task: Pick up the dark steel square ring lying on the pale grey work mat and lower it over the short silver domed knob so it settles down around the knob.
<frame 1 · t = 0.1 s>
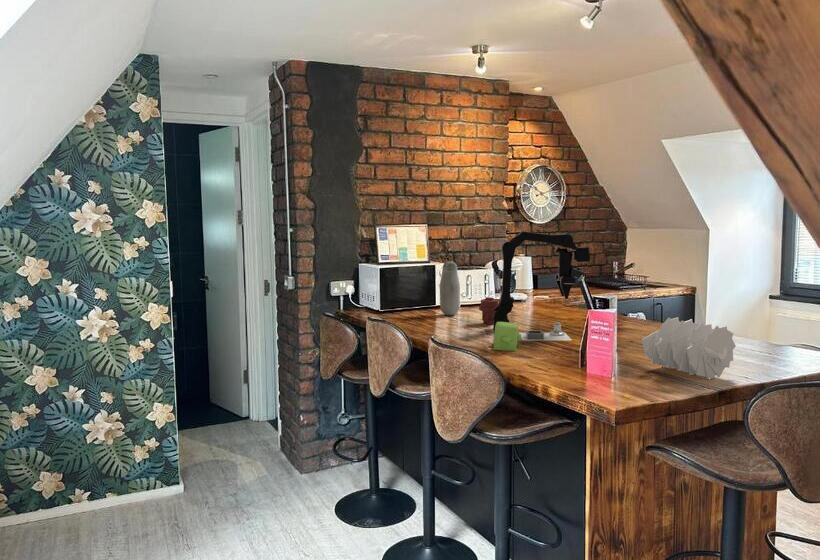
hand: (564, 297, 289), 15 cm above the table, tool pointing down, fingers open, 9 cm apart
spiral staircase: (688, 373, 211), on the table
ring: (534, 338, 270), point 1 cm above the table, touching work mat
silver domed knob: (557, 334, 277), resting on work mat
green pegged block: (507, 349, 253), on the table
grey bottle: (449, 315, 336), on the table
mechanical component: (489, 323, 309), on the table
work mat: (544, 337, 273), on the table
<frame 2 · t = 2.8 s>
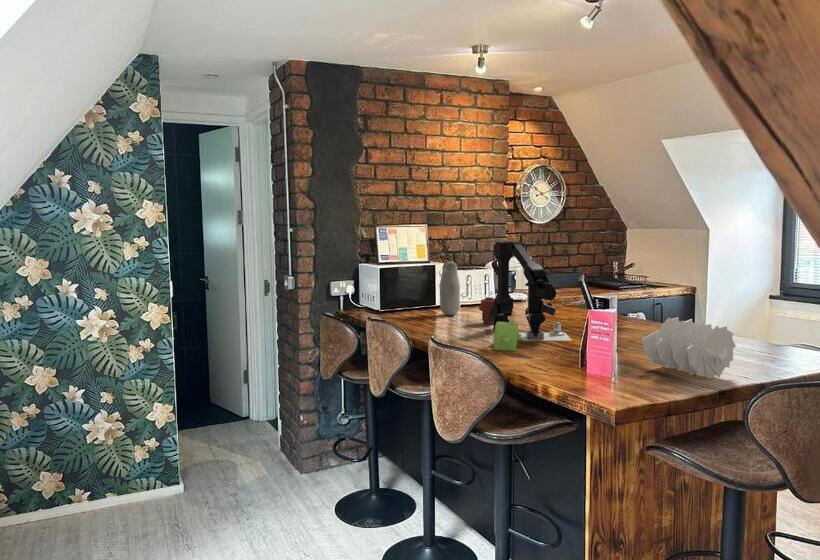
hand: (534, 335, 269), 2 cm above the table, tool pointing down, fingers closed on ring, 7 cm apart
ring: (534, 338, 270), point 1 cm above the table, touching gripper, work mat
everything else where it was.
when the fingers open (5 cm above the table, at t = 6.8 s): ring drops 3 cm, resting on silver domed knob.
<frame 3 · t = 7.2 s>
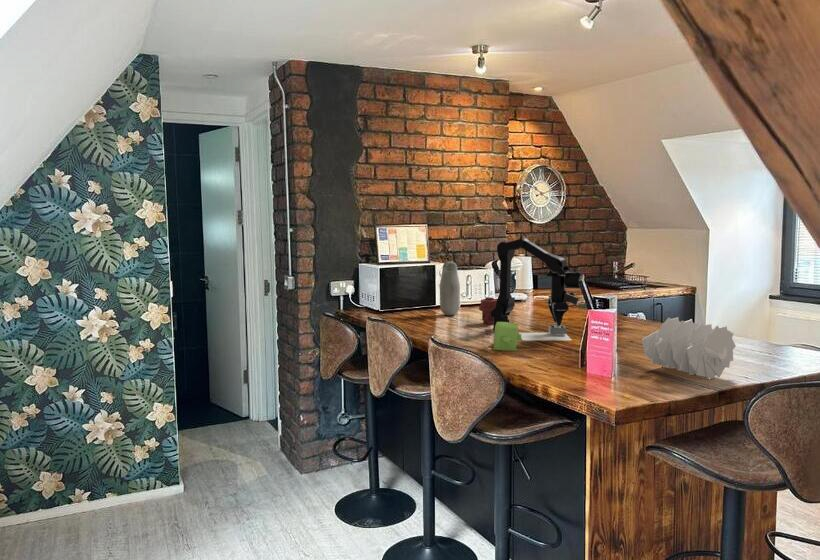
hand: (557, 323, 276), 5 cm above the table, tool pointing down, fingers open, 9 cm apart
ring: (557, 332, 277), point 1 cm above the table, touching silver domed knob
everything else where it was.
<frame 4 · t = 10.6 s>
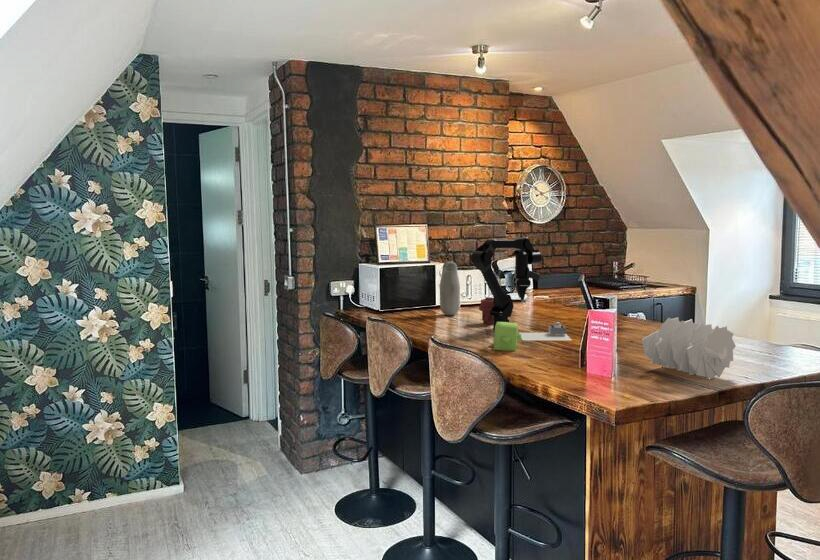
hand: (521, 298, 298), 13 cm above the table, tool pointing down, fingers open, 9 cm apart
nothing on the table moved.
at the end: ring 0.0 cm off-centre on the silver domed knob, point 0.8 cm above the silver domed knob's base; the gripper is holding nothing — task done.
